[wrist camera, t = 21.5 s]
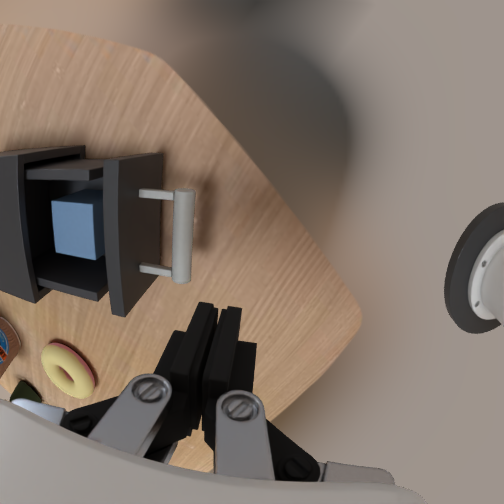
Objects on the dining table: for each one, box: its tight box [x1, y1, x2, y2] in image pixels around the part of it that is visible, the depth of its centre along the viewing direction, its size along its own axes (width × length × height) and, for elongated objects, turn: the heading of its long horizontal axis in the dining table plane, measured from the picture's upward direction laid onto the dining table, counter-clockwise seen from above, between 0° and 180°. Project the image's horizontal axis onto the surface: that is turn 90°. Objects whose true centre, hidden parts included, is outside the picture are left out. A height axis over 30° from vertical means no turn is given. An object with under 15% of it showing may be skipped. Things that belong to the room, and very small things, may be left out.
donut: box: [41, 343, 95, 399], centre depth 34 cm, size 10×5×9 cm
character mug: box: [6, 381, 41, 403], centre depth 36 cm, size 11×7×13 cm, turn 150°
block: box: [51, 189, 105, 260], centre depth 22 cm, size 4×4×5 cm
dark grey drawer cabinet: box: [0, 145, 85, 303], centre depth 22 cm, size 15×13×10 cm
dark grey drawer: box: [24, 153, 196, 317], centre depth 22 cm, size 18×11×8 cm, turn 83°
